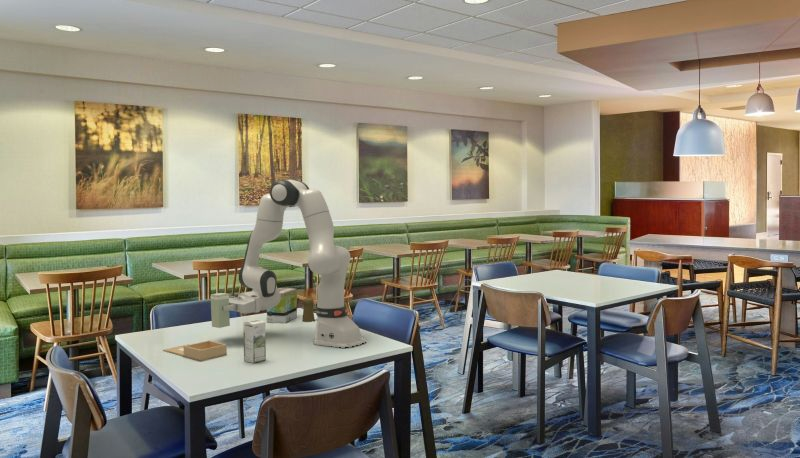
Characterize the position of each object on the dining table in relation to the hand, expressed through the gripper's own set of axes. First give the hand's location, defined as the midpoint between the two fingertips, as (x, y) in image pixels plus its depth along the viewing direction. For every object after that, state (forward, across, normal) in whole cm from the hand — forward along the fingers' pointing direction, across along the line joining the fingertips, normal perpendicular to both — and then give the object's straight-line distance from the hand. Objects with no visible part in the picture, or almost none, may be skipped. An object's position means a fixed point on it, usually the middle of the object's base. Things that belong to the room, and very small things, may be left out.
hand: (218, 307), depth 248 cm
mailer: (+12, +1, +15) cm, 20 cm away
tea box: (-50, -20, +16) cm, 56 cm away
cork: (-56, -8, +16) cm, 59 cm away
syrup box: (+5, +30, +16) cm, 34 cm away
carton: (-1, 0, +8) cm, 8 cm away
